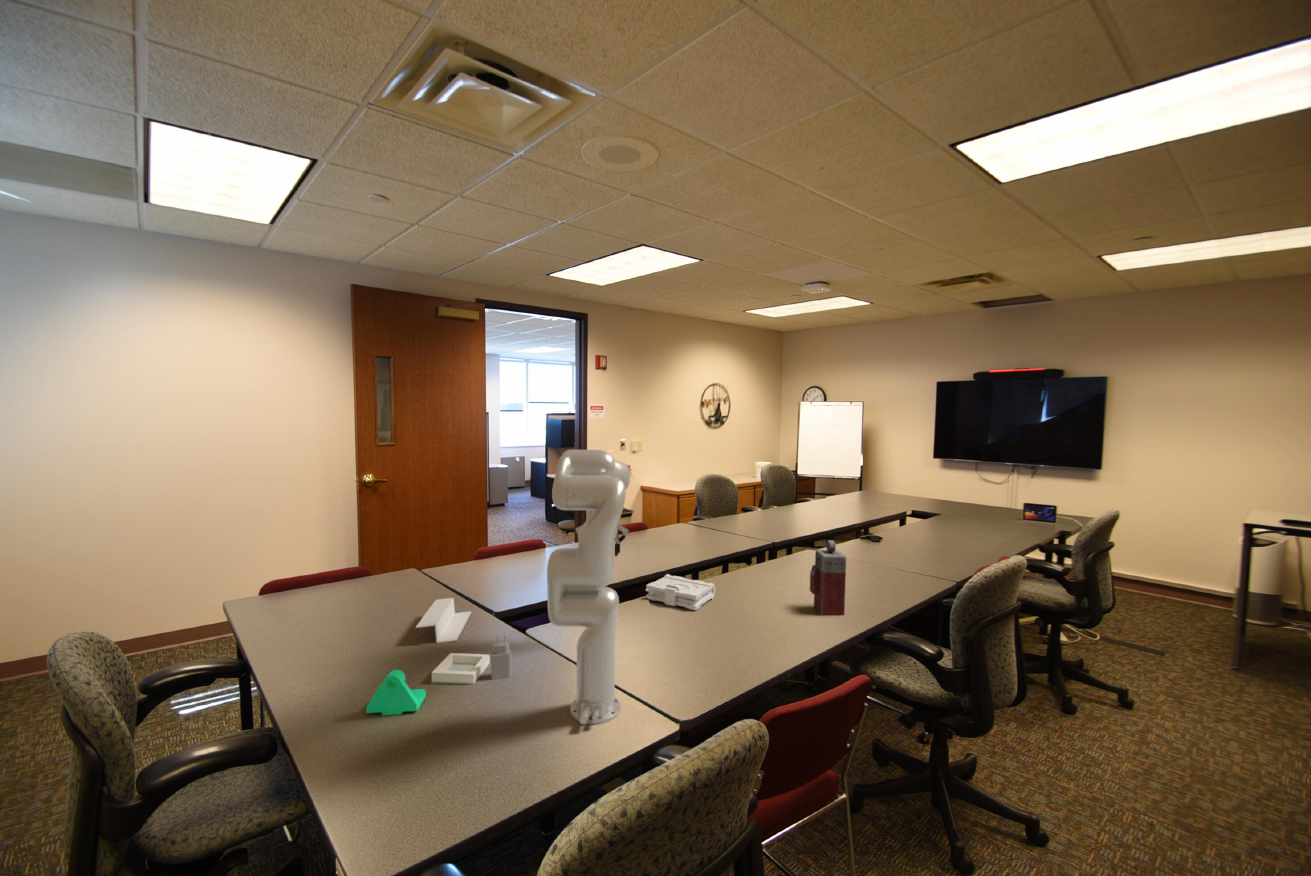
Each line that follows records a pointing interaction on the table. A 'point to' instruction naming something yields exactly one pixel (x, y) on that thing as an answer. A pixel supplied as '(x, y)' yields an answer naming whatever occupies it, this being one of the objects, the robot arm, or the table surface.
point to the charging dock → (461, 668)
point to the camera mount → (395, 696)
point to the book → (680, 591)
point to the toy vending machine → (829, 581)
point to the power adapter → (500, 660)
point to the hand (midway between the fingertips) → (601, 554)
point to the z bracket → (444, 620)
